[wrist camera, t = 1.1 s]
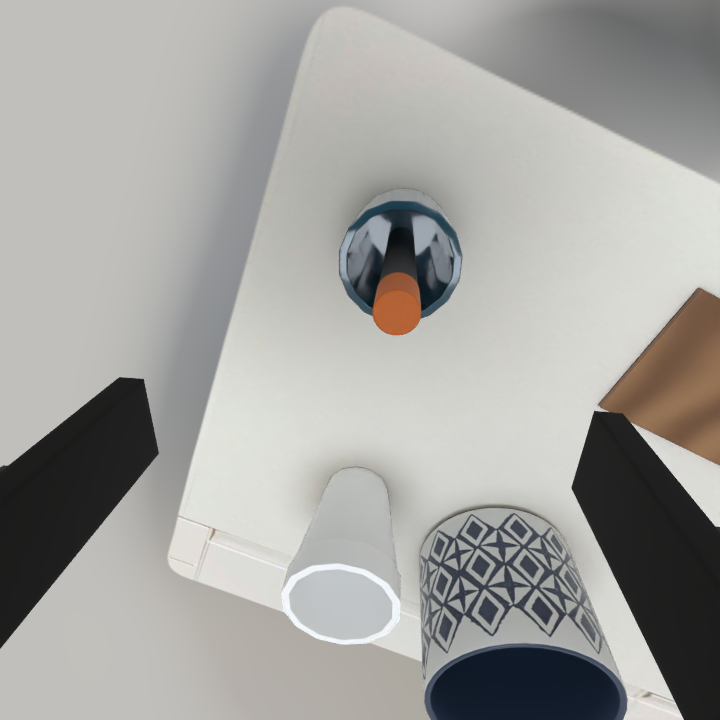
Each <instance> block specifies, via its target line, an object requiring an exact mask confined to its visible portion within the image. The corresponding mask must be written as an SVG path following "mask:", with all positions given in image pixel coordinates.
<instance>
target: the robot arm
mask: <svg viewBox="0 0 720 720" xmlns="http://www.w3.org/2000/svg"><path fill="white" fill-rule="evenodd" d="M158 453H159V452H158V447H157V442H156V438H155V432H154V427H153V423H152V418H151V413H150V408H149V403H148V398H147V393H146V389H145V384H144V379H135V378H122V377H119V378H118V379H117V380H115V381H114V382H113V383H112V384H110V385H109V386H108V387H106V388H105V389H104V390H103V391H101V392H100V393H99V394H98V395H96V396H95V397H94V398H93V399H91V400H90V401H89V402H88V403H87V404H85V405H84V406H83V407H81V408H80V409H79V410H78V411H76V412H75V413H74V414H73V415H71V416H70V417H69V418H68V419H66V420H65V421H64V422H63V423H61V424H60V425H59V426H58V427H57V428H55V429H54V430H53V431H51V432H50V433H49V434H48V435H46V436H45V437H44V438H42V439H41V440H40V441H39V442H37V443H36V444H35V445H34V446H32V447H31V448H30V449H29V450H27V451H26V452H25V453H24V454H23V455H21V456H20V457H19V458H18V459H16V460H15V461H14V462H12V463H11V464H10V465H9V466H2V467H0V648H1V647H2V646H3V645H4V643H5V642H6V641H7V640H8V639H9V637H10V636H11V635H12V634H13V632H14V631H15V630H16V629H17V627H18V626H19V625H20V624H21V623H22V621H23V620H24V619H25V618H26V616H27V615H28V614H29V613H30V611H31V610H32V609H33V608H34V607H35V605H36V604H37V603H38V602H39V600H40V599H41V598H42V597H43V595H44V594H45V593H46V592H47V591H48V589H49V588H50V587H51V585H52V584H53V583H54V582H55V581H56V579H57V578H58V577H59V576H60V575H61V573H62V572H63V571H64V570H65V568H66V567H67V566H68V565H69V563H70V562H71V561H72V560H73V558H74V557H75V556H76V555H77V553H78V552H79V551H80V550H81V549H82V547H83V546H84V545H85V544H86V542H87V541H88V540H89V539H90V537H91V536H92V535H93V534H94V533H95V531H96V530H97V529H98V528H99V526H100V525H101V524H102V523H103V521H104V520H105V519H106V518H107V517H108V515H109V514H110V513H111V512H112V510H113V509H114V508H115V507H116V506H117V504H118V503H119V502H120V501H121V499H122V498H123V497H124V496H125V494H126V493H127V492H128V491H129V490H130V488H131V487H132V486H133V485H134V483H135V482H136V481H137V480H138V478H139V477H140V476H141V475H142V474H143V472H144V471H145V470H146V468H147V467H148V466H149V465H150V464H151V462H152V461H153V460H154V459H155V457H156V456H157V455H158ZM572 490H573V492H574V494H575V496H576V498H577V500H578V503H579V505H580V507H581V509H582V511H583V513H584V515H585V517H586V519H587V521H588V523H589V525H590V527H591V529H592V531H593V533H594V535H595V538H596V540H597V542H598V544H599V546H600V548H601V550H602V552H603V554H604V556H605V558H606V560H607V562H608V564H609V566H610V568H611V570H612V573H613V575H614V577H615V579H616V581H617V583H618V585H619V587H620V589H621V591H622V593H623V595H624V597H625V599H626V601H627V603H628V605H629V608H630V610H631V612H632V614H633V616H634V618H635V620H636V622H637V624H638V626H639V628H640V630H641V632H642V634H643V636H644V638H645V640H646V643H647V645H648V647H649V649H650V651H651V653H652V655H653V657H654V659H655V661H656V663H657V665H658V667H659V669H660V671H661V673H662V675H663V678H664V680H665V682H666V684H667V686H668V688H669V690H670V692H671V694H672V696H673V698H674V700H675V702H676V704H677V706H678V708H679V710H680V713H681V715H682V717H683V719H684V720H720V527H715V526H714V524H713V523H712V522H711V521H710V520H709V518H708V517H707V516H706V515H705V513H704V512H703V511H702V510H701V509H700V507H699V506H698V505H697V504H696V502H695V501H694V500H693V499H692V498H691V496H690V495H689V494H688V493H687V491H686V490H685V489H684V488H683V486H682V485H681V484H680V483H679V482H678V480H677V479H676V478H675V477H674V475H673V474H672V473H671V472H670V471H669V469H668V468H667V467H666V466H665V464H664V463H663V462H662V461H661V460H660V458H659V457H658V456H657V455H656V453H655V452H654V451H653V450H652V449H651V447H650V446H649V445H648V444H647V442H646V441H645V440H644V439H643V437H642V436H641V435H640V434H639V433H638V431H637V430H636V429H635V428H634V426H633V425H632V424H631V423H630V422H629V420H628V419H627V418H626V417H625V415H624V414H623V413H613V412H599V411H594V414H593V417H592V420H591V424H590V427H589V430H588V434H587V437H586V441H585V444H584V447H583V451H582V454H581V457H580V461H579V464H578V468H577V471H576V474H575V478H574V481H573V484H572Z"/></svg>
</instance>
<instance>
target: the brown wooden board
mask: <svg viewBox="0 0 720 720" xmlns="http://www.w3.org/2000/svg"><path fill="white" fill-rule="evenodd" d="M599 406H600V407H601V408H603V409H605V410H607V411H609V412H613V413H623V414H624V415H625V417H626V418H627V419H628V420H629V422H631V423H634V424H636V425H638V426H640V427H642V428H644V429H646V430H648V431H650V432H652V433H654V434H656V435H658V436H660V437H662V438H664V439H666V440H668V441H671V442H673V443H675V444H677V445H679V446H681V447H683V448H685V449H687V450H689V451H691V452H693V453H695V454H697V455H699V456H701V457H703V458H705V459H708V460H710V461H712V462H714V463H716V464H718V465H720V299H719V298H717V297H716V296H714V295H712V294H710V293H708V292H706V291H704V290H702V289H700V288H698V289H697V290H696V292H695V293H694V294H693V295H692V296H691V297H690V299H689V300H688V301H687V302H686V303H685V304H684V306H683V307H682V308H681V309H680V310H679V311H678V313H677V314H676V315H675V316H674V317H673V318H672V320H671V321H670V322H669V323H668V324H667V325H666V327H665V328H664V329H663V330H662V331H661V332H660V334H659V335H658V336H657V337H656V338H655V339H654V341H653V342H652V343H651V344H650V345H649V346H648V348H647V349H646V350H645V351H644V352H643V353H642V355H641V356H640V357H639V358H638V359H637V360H636V362H635V363H634V364H633V365H632V366H631V367H630V369H629V370H628V371H627V372H626V373H625V374H624V376H623V377H622V378H621V379H620V380H619V381H618V383H617V384H616V385H615V386H614V387H613V388H612V390H611V391H610V392H609V393H608V394H607V395H606V397H605V398H604V399H603V400H602V401H601V402H600V404H599Z"/></svg>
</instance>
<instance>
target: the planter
mask: <svg viewBox="0 0 720 720" xmlns="http://www.w3.org/2000/svg"><path fill="white" fill-rule="evenodd" d="M419 569H420V606H421V639H422V669H423V692H424V704H425V708H426V711H427V713H428V715H429V717H430V719H431V720H623V719H624V716H625V713H626V711H627V700H628V699H627V694H626V689H625V687H624V684H623V681H622V679H621V676H620V674H619V671H618V669H617V666H616V664H615V661H614V659H613V656H612V654H611V651H610V649H609V646H608V644H607V641H606V639H605V636H604V634H603V631H602V629H601V626H600V624H599V621H598V619H597V616H596V614H595V612H594V609H593V607H592V604H591V602H590V599H589V597H588V594H587V592H586V589H585V587H584V585H583V582H582V580H581V577H580V575H579V572H578V570H577V567H576V565H575V562H574V560H573V558H572V555H571V553H570V551H569V548H568V546H567V544H566V542H565V540H564V538H563V537H562V536H561V535H560V533H559V532H558V531H557V530H556V529H555V528H554V527H552V526H551V525H550V524H549V523H547V522H546V521H544V520H542V519H541V518H539V517H536V516H534V515H532V514H530V513H526V512H523V511H519V510H514V509H507V508H485V509H477V510H472V511H468V512H465V513H462V514H459V515H457V516H455V517H452V518H450V519H448V520H447V521H445V522H444V523H442V524H441V525H439V526H438V527H437V528H436V529H435V530H434V531H433V532H432V533H431V534H430V535H429V537H428V538H427V539H426V541H425V543H424V545H423V547H422V549H421V553H420V562H419Z"/></svg>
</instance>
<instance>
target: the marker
mask: <svg viewBox="0 0 720 720" xmlns="http://www.w3.org/2000/svg"><path fill="white" fill-rule="evenodd" d="M373 318H374V321H375V323H376V325H377V326H378V327H379V328H380V329H381V330H382V331H384V332H385V333H388V334H391V335H403V334H406V333H408V332H410V331H412V330H413V329H414V328H415V327H416V326H417V324H418V323H419V321H420V318H421V302H420V292H419V287H418V280H417V268H416V256H415V244H414V236H413V234H412V232H411V231H410V230H409V229H407V228H405V227H398V228H395V229H394V230H393V231H392V232H391V233H390V235H389V237H388V242H387V247H386V252H385V257H384V262H383V267H382V272H381V277H380V282H379V285H378V287H377V291H376V296H375V301H374V306H373Z"/></svg>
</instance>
